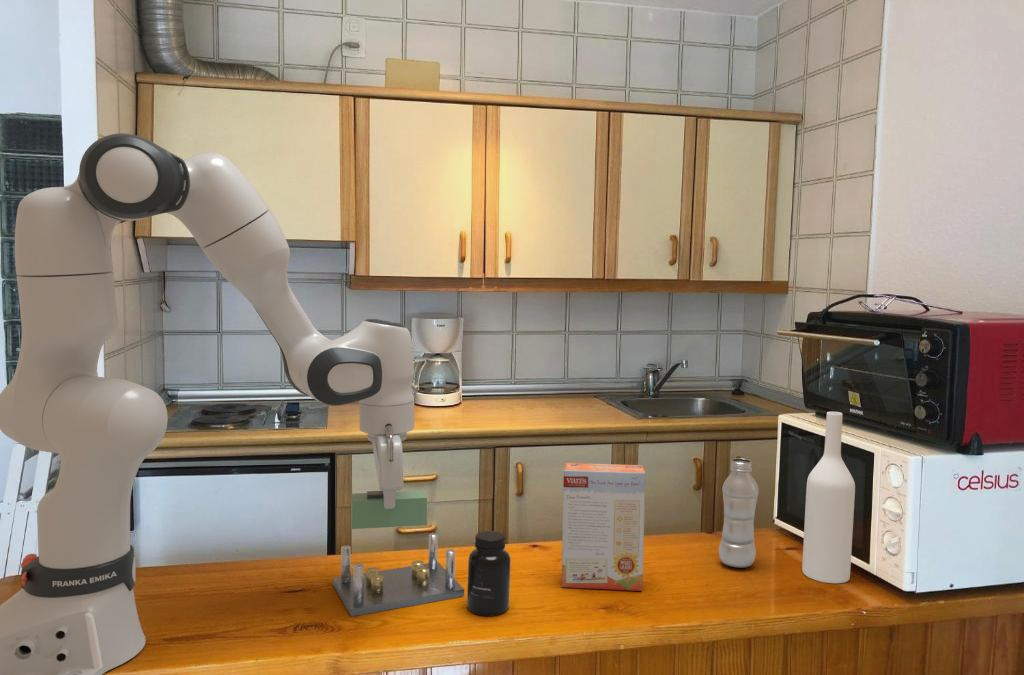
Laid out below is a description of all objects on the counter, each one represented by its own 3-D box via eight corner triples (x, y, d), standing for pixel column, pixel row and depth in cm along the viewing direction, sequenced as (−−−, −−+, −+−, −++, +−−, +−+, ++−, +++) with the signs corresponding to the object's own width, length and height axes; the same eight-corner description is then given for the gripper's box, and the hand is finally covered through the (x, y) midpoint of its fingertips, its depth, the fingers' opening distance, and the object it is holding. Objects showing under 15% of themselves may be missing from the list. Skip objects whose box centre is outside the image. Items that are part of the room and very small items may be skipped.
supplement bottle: (472, 619, 117) (473, 544, 116) (463, 600, 124) (464, 529, 123) (514, 614, 119) (516, 541, 118) (503, 596, 126) (504, 526, 125)
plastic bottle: (711, 560, 143) (715, 457, 141) (742, 557, 145) (746, 455, 144) (730, 573, 137) (735, 466, 135) (762, 570, 139) (767, 463, 137)
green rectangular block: (423, 516, 128) (423, 486, 128) (426, 525, 123) (426, 494, 123) (351, 520, 125) (351, 490, 125) (351, 529, 120) (351, 497, 120)
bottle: (855, 585, 133) (865, 418, 130) (807, 582, 134) (816, 415, 131) (843, 568, 141) (852, 409, 138) (797, 564, 142) (805, 407, 139)
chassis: (351, 616, 117) (351, 572, 117) (333, 585, 129) (332, 544, 128) (464, 596, 126) (464, 554, 125) (437, 568, 137) (438, 529, 137)
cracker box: (640, 578, 134) (644, 463, 132) (642, 593, 128) (646, 472, 126) (561, 574, 135) (564, 460, 134) (560, 588, 129) (563, 469, 128)
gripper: (412, 432, 113) (413, 521, 115) (401, 405, 133) (402, 481, 134) (369, 434, 112) (371, 524, 113) (365, 406, 131) (366, 483, 133)
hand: (388, 500), depth 124 cm, fingers closed on green rectangular block, 5 cm apart
